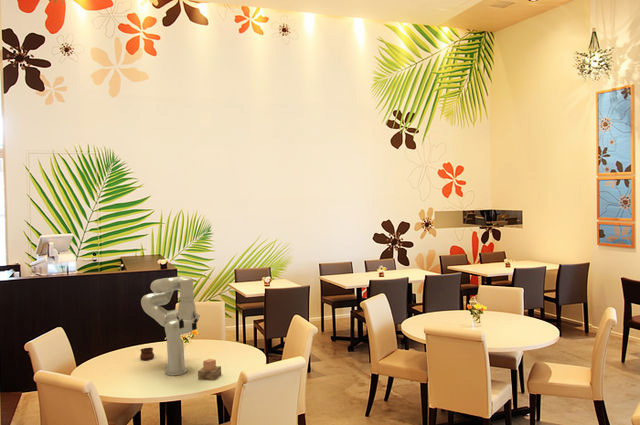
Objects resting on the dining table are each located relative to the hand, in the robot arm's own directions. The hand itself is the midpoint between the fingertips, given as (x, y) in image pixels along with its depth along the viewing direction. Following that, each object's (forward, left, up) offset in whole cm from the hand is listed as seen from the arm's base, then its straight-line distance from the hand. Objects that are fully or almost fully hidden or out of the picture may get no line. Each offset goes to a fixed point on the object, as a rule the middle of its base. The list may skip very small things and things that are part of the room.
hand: (187, 328), depth 301 cm
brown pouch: (-52, +17, -29) cm, 62 cm away
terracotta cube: (+10, +6, -24) cm, 26 cm away
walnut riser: (+10, +6, -29) cm, 31 cm away
